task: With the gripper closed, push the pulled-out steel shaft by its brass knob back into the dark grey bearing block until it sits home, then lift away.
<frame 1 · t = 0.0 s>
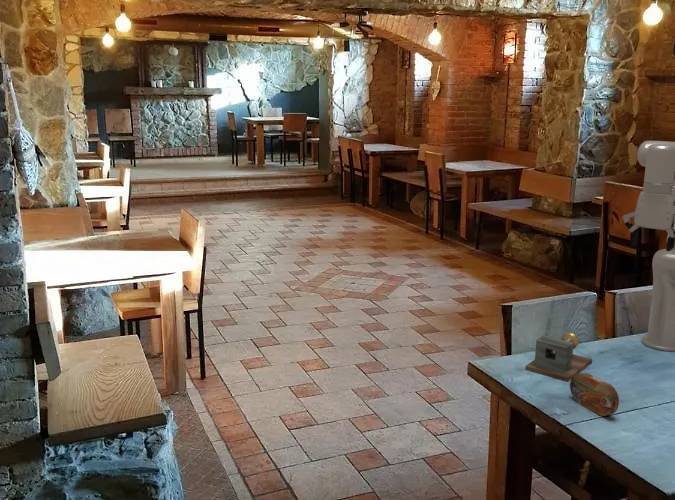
hand: (651, 247, 194), 37 cm above the table, tool pointing down, fingers open, 9 cm apart
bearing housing: (560, 365, 204), on the table
tin: (592, 408, 177), on the table
shaft: (562, 346, 203), point 6 cm above the table, slide at 8.0 cm
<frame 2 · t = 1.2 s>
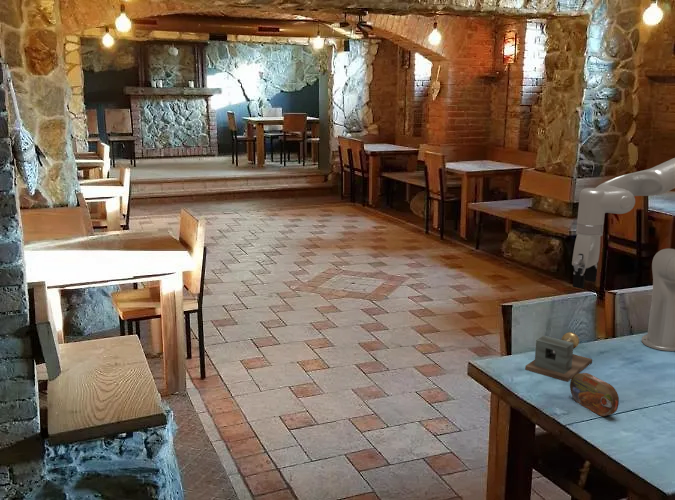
hand: (584, 284, 208), 23 cm above the table, tool pointing down, fingers open, 9 cm apart
nothing on the table moved.
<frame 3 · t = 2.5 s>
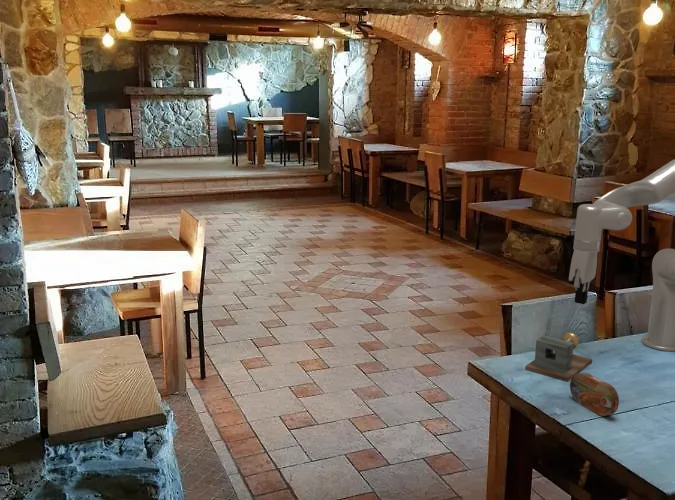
hand: (580, 302, 210), 17 cm above the table, tool pointing down, fingers closed
nothing on the table moved.
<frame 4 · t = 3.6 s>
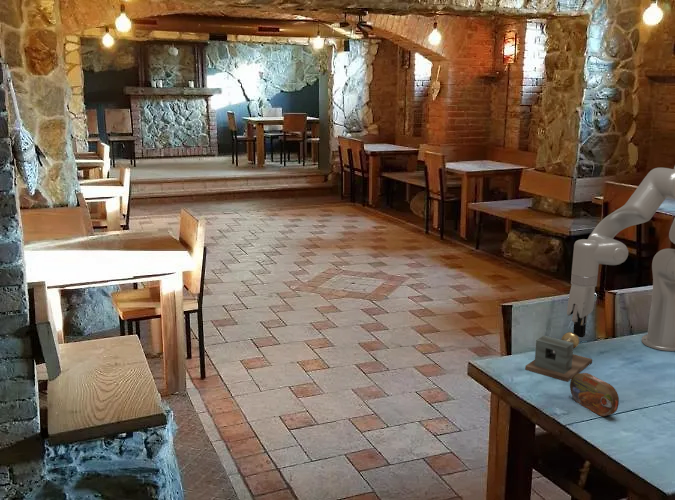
hand: (578, 335, 212), 6 cm above the table, tool pointing down, fingers closed
nothing on the table moved.
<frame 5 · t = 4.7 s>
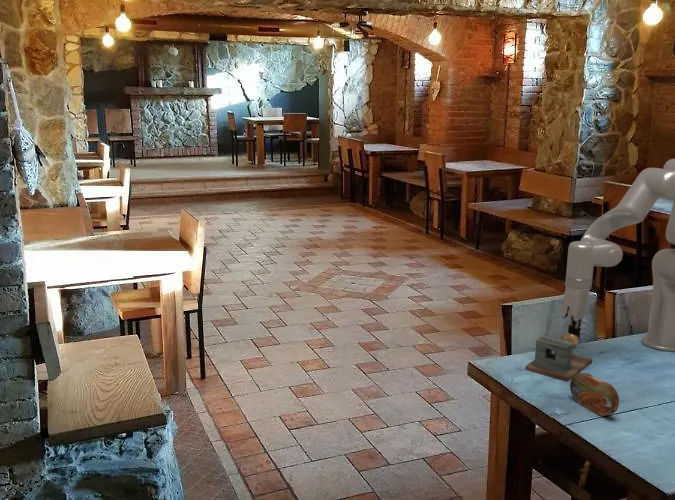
hand: (573, 339, 209), 6 cm above the table, tool pointing down, fingers closed
shaft: (562, 346, 203), point 6 cm above the table, slide at 7.6 cm, touching gripper
everything else where it was.
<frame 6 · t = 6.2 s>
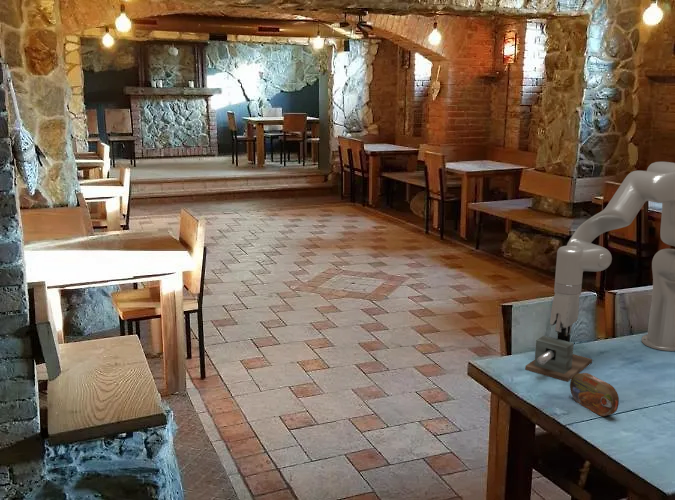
hand: (563, 346, 204), 6 cm above the table, tool pointing down, fingers closed
shaft: (550, 353, 197), point 6 cm above the table, slide at -0.1 cm, touching gripper
everything else where it was.
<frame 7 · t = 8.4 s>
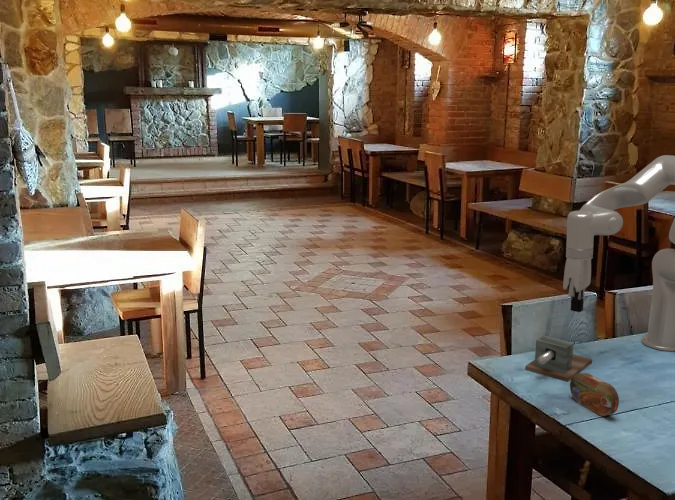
hand: (576, 310, 206), 15 cm above the table, tool pointing down, fingers closed
shaft: (551, 353, 197), point 6 cm above the table, slide at 0.0 cm
everything else where it was.
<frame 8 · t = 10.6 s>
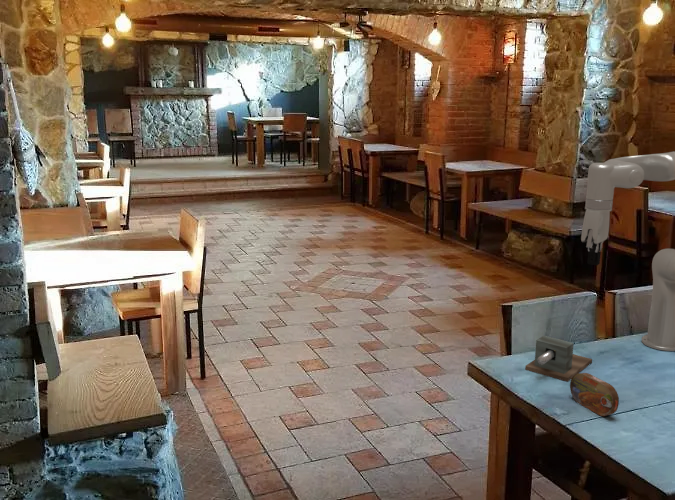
hand: (593, 264, 206), 29 cm above the table, tool pointing down, fingers closed
nothing on the table moved.
at the end: shaft slide at 0.0 cm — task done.
